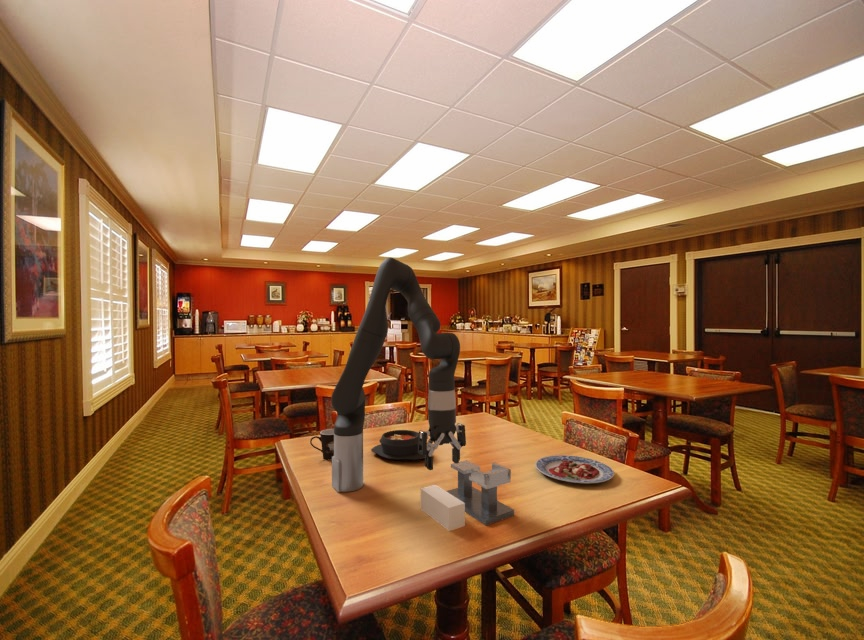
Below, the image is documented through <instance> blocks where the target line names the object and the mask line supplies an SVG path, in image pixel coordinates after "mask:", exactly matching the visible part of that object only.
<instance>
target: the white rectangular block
mask: <svg viewBox="0 0 864 640" xmlns="http://www.w3.org/2000/svg"><path fill="white" fill-rule="evenodd" d="M446 491H447V490H445V489H444V488H441V487H440V486H438V485H437V484H432V485H429V486H425V487H421V488H420V510H421V511H422V512H423V513H425V515H428V516H429V517H430V518H431V519H433V520H434V521H435V522H437V523H438V524H439V525H441V526H442V528H444V529H445V530H447V531H448V532H451V531H454V530H456V529H459V528H463V527H465V526H466V512H465V503H464V502H462V501H461V500H459V499H458V498H456V497H454V496H453V495H451V494H450V493H448V492H446Z"/></svg>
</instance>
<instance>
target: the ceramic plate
mask: <svg viewBox="0 0 864 640" xmlns="http://www.w3.org/2000/svg"><path fill="white" fill-rule="evenodd" d="M535 468H536V469H537V470H538V471H539V472H540V473H541V474H543V475H545V476H548V477H549V478H551V479H555V480H559V481H563V482H568V483H575V484H599V483H604V482H607V481H610V480H612V478H613V477H614V476H615V472H614V470H613V469H612V467H610V466H609V465H607V464H606V463H604V462H601V461H598V460H595V459H592V458H588V457H583V456H578V455H569V454H568V455H565V454H559V455H556V454H555V455H548V456H544V457H541V458H539V459H538V460H536V462H535Z"/></svg>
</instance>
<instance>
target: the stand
mask: <svg viewBox="0 0 864 640" xmlns="http://www.w3.org/2000/svg"><path fill="white" fill-rule="evenodd" d="M450 468H452V469H454V470H456V471H457V487H456V488H452V489H449V490H445V491H446V492H448V493H450V494H451V495H453V496H454V497H456V498H458V499H459V500H461V501H462V502H464V503H465V514H468V515H469V516H471V517H472V518H474V519H475V520H477V521H478V522H480V523H481V524H483V525H484V526H489V525H492V524H494V522H495V523H497V521H498V522H500V521H502V519H503V520H505V518H506V519H509V518H511V517H514V516H515V509H513V508H512V507H510V506H508V505H506V504H504V503H503V502H501V501H499V500H498V487H500V486H502V485H507V484H510V483H512V480H511V479H512V478H511V477H512V476H511V474H512V472H511V471H512V470H511V468H510V467H509V468H508V467H506V466H504V465H502V464H499V463H497V462H492V463H491V470H487V471H482V470H481V466H480V465H478V464H475V463H474V462H472V461H469V460H462V461H459V463H457V464H456V463H454V462H453V463H450ZM473 483H474V484H476V485H478V486H479V487H480V488H481V489H480V490H479V489H478V488H476V487H474V486H473ZM508 517H509V518H508Z"/></svg>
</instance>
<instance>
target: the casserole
mask: <svg viewBox="0 0 864 640" xmlns="http://www.w3.org/2000/svg"><path fill="white" fill-rule="evenodd" d="M418 435H419V431H418V432H417V431H414V430H410V429H408V430H407V429H397V430H396V429H394V430H389V431H386V432H384V433H382V435H381V437H380V439H379V443H380V444H377V445H375V446H373V447H372V448H371V449H370V451H371V452H372V453H374V454H377V455H378V456H380V457H382V458H384V459H389V460H393V461H407V460H410V461H411V460H412V461H413V460H414V461H415V460H416V461H418V460H422V459H425V456H424V455H422V454H420V453H418Z"/></svg>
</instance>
